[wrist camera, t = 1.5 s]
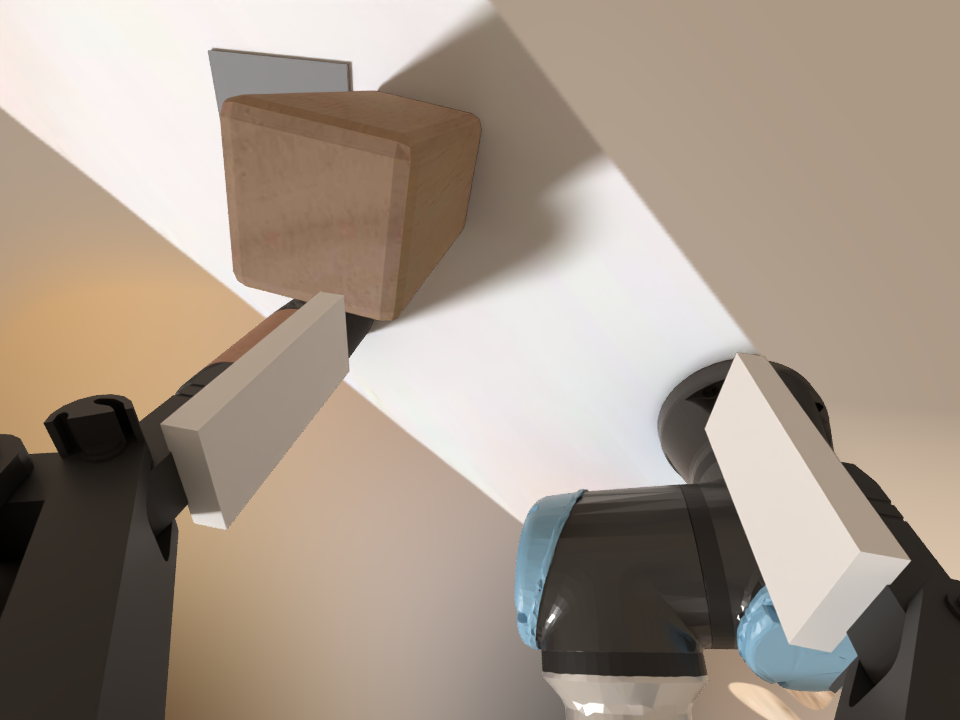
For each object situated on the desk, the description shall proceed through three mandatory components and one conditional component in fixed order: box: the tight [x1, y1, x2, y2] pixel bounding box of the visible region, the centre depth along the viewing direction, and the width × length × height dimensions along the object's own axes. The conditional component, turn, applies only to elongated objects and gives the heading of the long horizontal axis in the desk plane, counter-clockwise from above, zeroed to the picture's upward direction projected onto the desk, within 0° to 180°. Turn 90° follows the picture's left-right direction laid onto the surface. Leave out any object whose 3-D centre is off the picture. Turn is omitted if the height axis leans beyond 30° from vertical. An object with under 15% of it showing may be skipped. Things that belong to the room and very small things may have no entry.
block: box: [220, 91, 481, 321], centre depth 33 cm, size 10×10×20 cm
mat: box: [208, 50, 349, 117], centre depth 42 cm, size 12×15×1 cm
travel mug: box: [175, 299, 373, 396], centre depth 41 cm, size 8×8×20 cm
